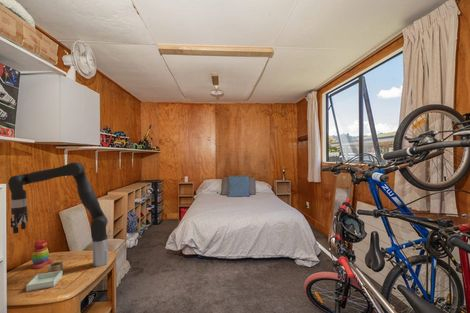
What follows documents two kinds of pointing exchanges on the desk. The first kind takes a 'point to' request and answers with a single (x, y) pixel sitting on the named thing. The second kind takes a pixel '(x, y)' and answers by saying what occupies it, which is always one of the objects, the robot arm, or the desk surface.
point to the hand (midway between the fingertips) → (19, 231)
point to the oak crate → (55, 267)
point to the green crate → (44, 280)
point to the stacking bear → (40, 254)
